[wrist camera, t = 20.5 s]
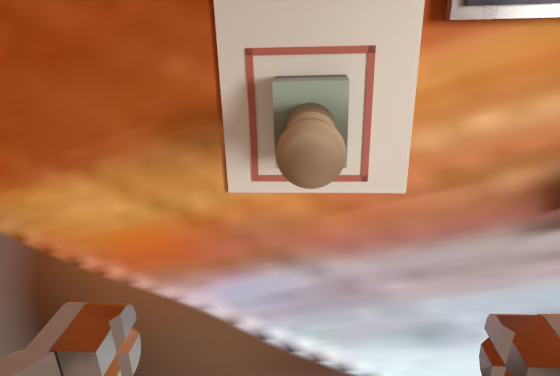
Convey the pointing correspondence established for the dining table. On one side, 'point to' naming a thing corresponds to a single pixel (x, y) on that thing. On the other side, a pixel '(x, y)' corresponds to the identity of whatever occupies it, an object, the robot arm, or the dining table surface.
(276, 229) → the dining table surface
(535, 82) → the dining table surface
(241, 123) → the paper sheet
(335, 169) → the stamp
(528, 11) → the ink pad
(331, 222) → the dining table surface
